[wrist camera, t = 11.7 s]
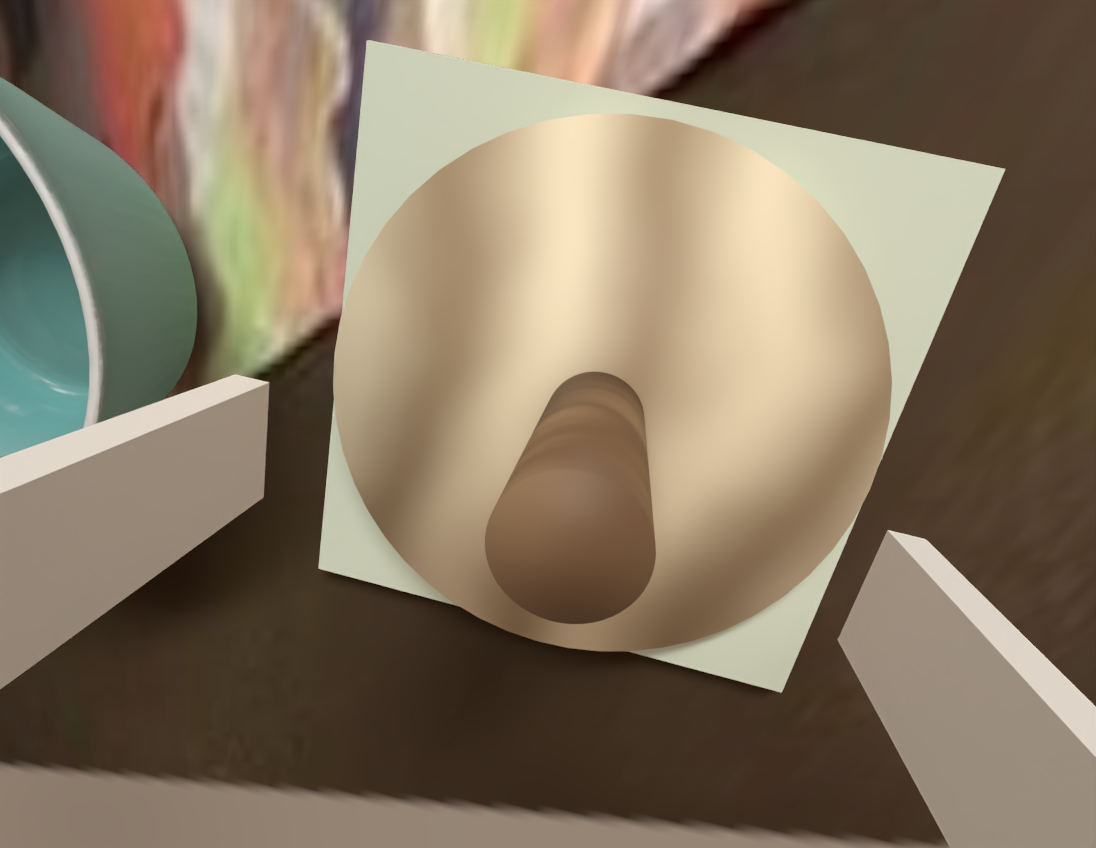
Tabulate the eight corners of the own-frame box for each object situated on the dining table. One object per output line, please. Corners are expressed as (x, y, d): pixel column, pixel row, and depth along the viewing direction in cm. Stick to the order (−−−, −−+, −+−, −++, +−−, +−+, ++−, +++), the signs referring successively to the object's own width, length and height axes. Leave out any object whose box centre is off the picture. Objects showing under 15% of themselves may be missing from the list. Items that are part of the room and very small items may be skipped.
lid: (325, 562, 25) (131, 767, 15) (381, 63, 19) (116, -131, 9) (766, 684, 24) (860, 990, 14) (977, 195, 18) (1405, 136, 8)
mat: (327, 558, 26) (318, 568, 25) (377, 47, 19) (367, 39, 18) (776, 678, 24) (781, 692, 24) (989, 172, 18) (1005, 168, 17)
